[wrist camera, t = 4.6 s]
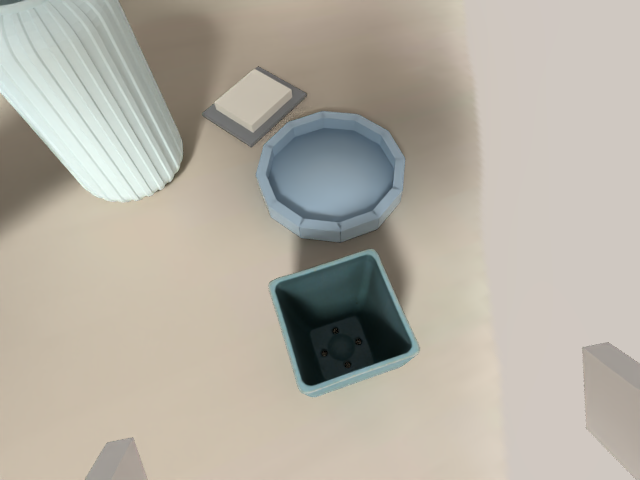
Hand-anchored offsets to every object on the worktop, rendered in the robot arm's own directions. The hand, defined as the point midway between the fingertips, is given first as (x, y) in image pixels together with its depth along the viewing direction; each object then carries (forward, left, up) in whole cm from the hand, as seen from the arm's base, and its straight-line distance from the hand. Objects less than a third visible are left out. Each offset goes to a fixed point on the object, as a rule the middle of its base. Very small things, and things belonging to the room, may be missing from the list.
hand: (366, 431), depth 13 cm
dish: (+21, +18, -26) cm, 38 cm away
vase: (+9, +36, -26) cm, 45 cm away
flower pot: (+7, +6, -26) cm, 28 cm away
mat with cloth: (+24, +32, -26) cm, 48 cm away
